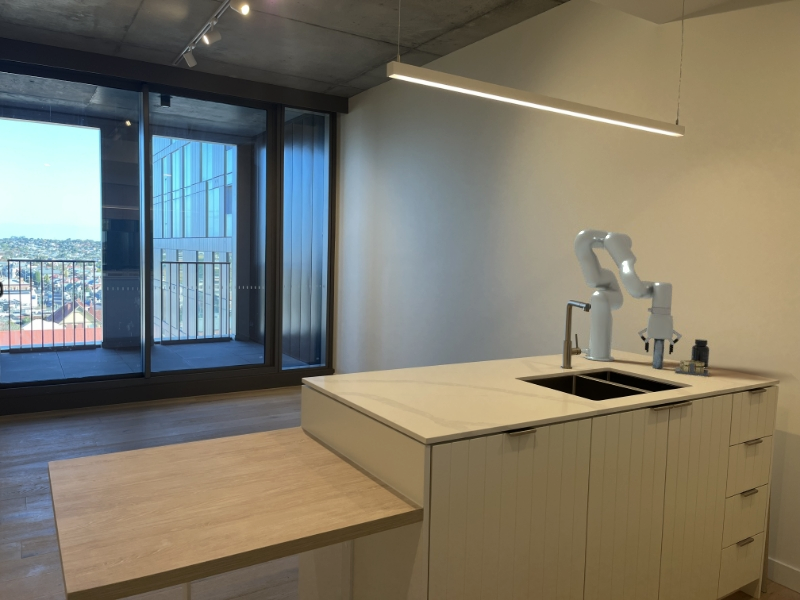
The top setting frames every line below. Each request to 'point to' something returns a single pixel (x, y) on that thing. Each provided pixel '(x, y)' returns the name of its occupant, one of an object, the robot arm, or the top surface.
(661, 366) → the steel tube
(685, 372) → the firebox
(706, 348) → the supplement bottle
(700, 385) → the top surface
